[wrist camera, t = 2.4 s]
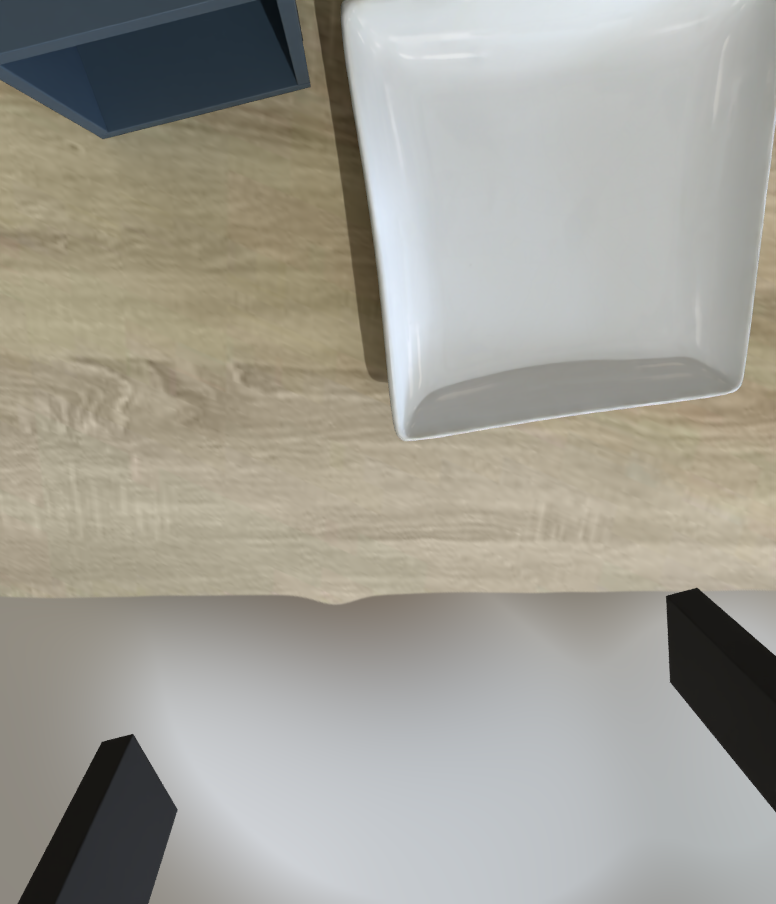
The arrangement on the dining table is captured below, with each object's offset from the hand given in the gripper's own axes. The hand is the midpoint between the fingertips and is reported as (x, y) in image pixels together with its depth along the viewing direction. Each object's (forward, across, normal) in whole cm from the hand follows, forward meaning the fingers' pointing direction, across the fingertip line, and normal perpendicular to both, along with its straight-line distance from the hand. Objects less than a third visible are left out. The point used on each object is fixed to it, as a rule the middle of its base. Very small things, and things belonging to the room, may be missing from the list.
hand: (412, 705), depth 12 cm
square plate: (+29, +17, +10) cm, 35 cm away
